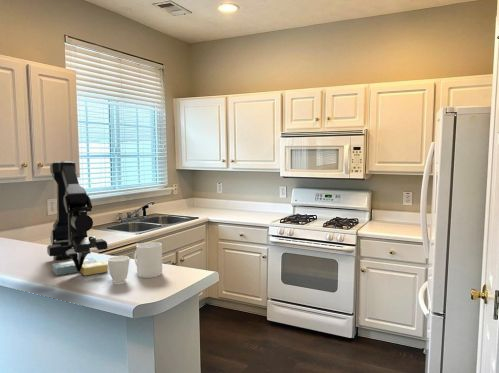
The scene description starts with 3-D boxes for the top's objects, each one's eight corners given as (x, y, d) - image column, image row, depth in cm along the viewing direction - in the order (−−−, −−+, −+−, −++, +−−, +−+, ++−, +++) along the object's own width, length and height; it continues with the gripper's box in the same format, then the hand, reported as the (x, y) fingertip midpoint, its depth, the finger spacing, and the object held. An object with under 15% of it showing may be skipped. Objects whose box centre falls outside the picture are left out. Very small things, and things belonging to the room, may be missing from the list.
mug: (144, 268, 144) (143, 239, 143) (167, 273, 137) (167, 243, 137) (125, 274, 137) (124, 244, 136) (148, 280, 130) (148, 248, 130)
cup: (115, 287, 123) (114, 262, 123) (99, 280, 130) (98, 257, 129) (134, 281, 128) (134, 257, 128) (118, 275, 135) (117, 253, 134)
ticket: (52, 270, 142) (52, 263, 141) (92, 264, 150) (92, 257, 150) (56, 275, 136) (56, 268, 135) (97, 268, 144) (97, 261, 144)
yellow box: (80, 271, 140) (79, 264, 139) (103, 267, 144) (102, 260, 144) (84, 275, 135) (84, 268, 135) (107, 271, 139) (107, 264, 139)
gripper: (51, 234, 123) (53, 282, 125) (111, 228, 134) (112, 272, 135) (46, 229, 132) (47, 273, 134) (102, 223, 143) (103, 265, 144)
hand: (78, 271), depth 137 cm, fingers closed
